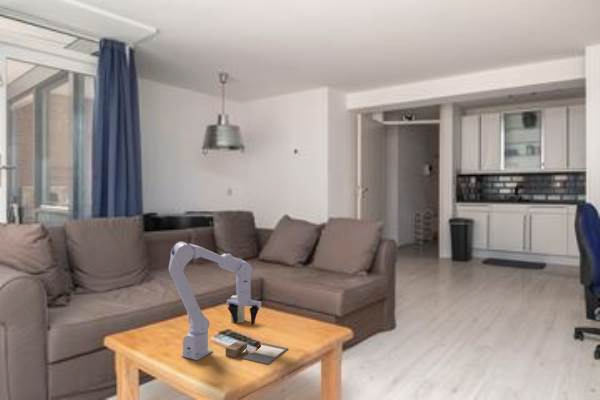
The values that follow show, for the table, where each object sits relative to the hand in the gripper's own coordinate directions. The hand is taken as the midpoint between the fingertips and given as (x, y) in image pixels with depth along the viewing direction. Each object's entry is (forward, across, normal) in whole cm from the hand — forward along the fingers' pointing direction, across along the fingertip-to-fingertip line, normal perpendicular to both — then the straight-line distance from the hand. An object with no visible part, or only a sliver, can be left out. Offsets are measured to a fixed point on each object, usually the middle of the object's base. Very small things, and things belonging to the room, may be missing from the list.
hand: (244, 323), depth 167 cm
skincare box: (+10, +15, -26) cm, 32 cm away
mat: (+10, -11, +5) cm, 15 cm away
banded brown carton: (+9, 0, +8) cm, 13 cm away
